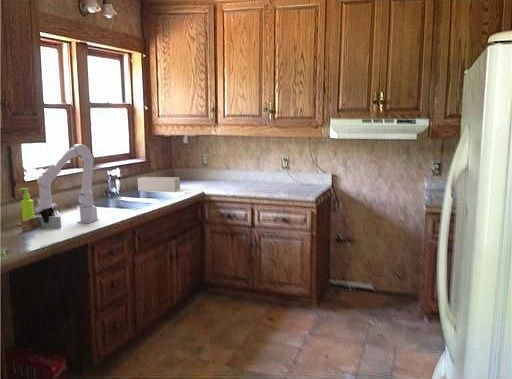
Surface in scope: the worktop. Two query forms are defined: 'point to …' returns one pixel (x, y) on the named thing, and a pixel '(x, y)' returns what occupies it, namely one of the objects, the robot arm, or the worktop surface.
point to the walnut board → (31, 223)
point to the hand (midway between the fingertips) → (47, 222)
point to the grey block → (50, 222)
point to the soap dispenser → (27, 205)
